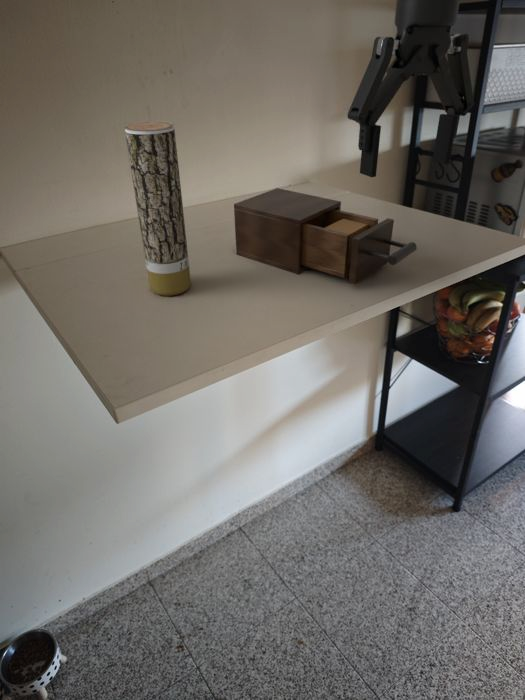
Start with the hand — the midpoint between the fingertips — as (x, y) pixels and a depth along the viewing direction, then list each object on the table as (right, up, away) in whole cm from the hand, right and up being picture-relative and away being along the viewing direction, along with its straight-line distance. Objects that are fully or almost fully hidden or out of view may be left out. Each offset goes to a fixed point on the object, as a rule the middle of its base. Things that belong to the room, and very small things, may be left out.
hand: (405, 168), depth 73 cm
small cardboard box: (-7, -10, +14) cm, 19 cm away
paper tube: (-36, -16, +10) cm, 41 cm away
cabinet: (-16, -8, +22) cm, 28 cm away
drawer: (-5, -12, +14) cm, 19 cm away
